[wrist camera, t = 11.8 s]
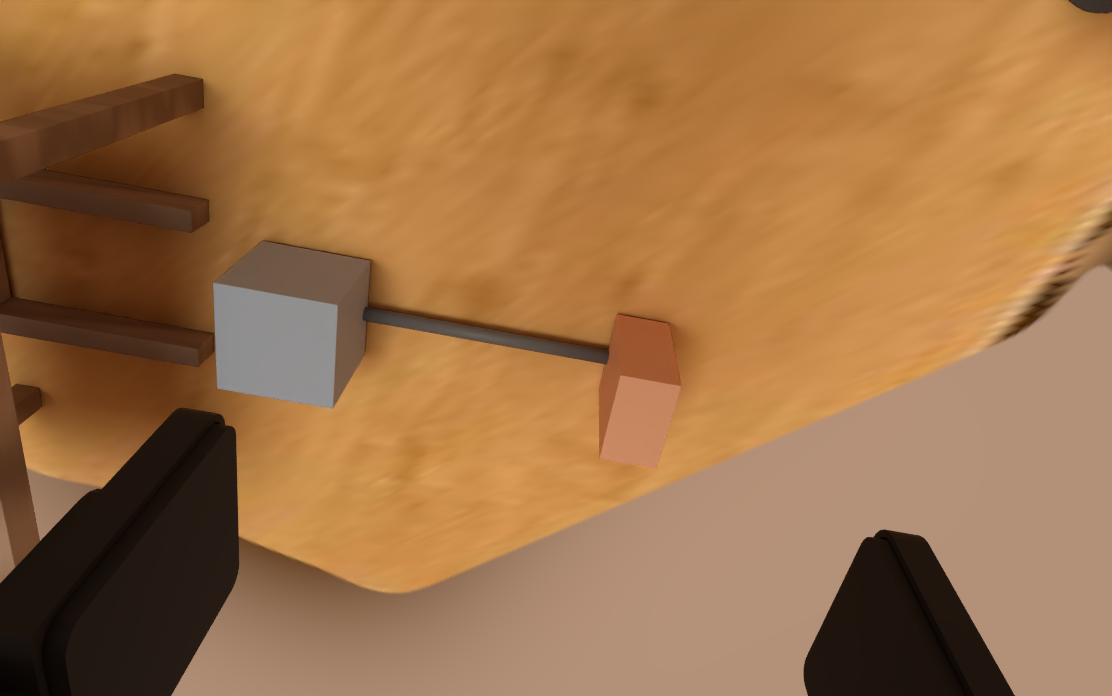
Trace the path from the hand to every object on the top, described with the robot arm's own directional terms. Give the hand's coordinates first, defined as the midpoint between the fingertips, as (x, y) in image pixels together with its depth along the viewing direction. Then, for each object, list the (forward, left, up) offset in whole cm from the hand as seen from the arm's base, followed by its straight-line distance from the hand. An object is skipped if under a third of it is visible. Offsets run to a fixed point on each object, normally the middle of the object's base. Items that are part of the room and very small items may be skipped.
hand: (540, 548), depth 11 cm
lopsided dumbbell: (+12, -4, -30) cm, 33 cm away
